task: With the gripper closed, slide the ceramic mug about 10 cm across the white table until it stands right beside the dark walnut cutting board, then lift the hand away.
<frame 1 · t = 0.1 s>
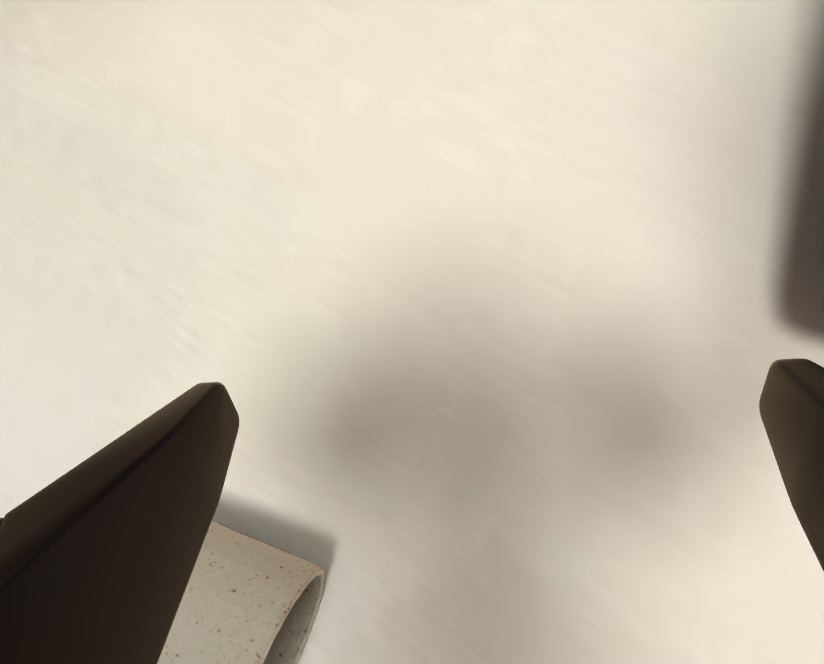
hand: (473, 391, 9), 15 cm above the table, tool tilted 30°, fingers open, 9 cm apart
ceramic mug: (247, 598, 27), on the table
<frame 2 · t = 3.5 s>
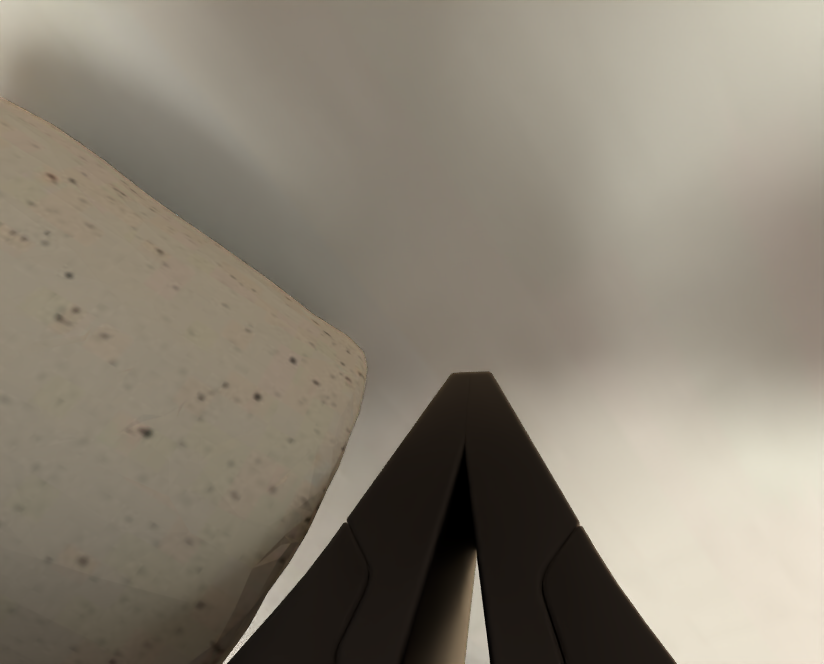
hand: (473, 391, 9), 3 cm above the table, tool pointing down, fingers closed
ceramic mug: (152, 320, 12), on the table, touching gripper
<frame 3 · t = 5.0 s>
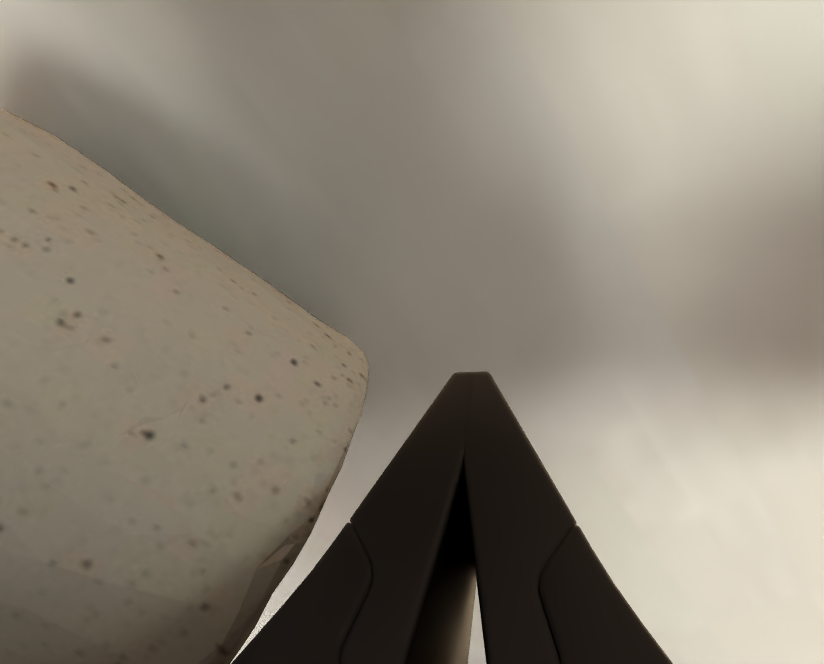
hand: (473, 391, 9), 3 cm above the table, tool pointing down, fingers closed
ceramic mug: (155, 328, 13), on the table, touching gripper
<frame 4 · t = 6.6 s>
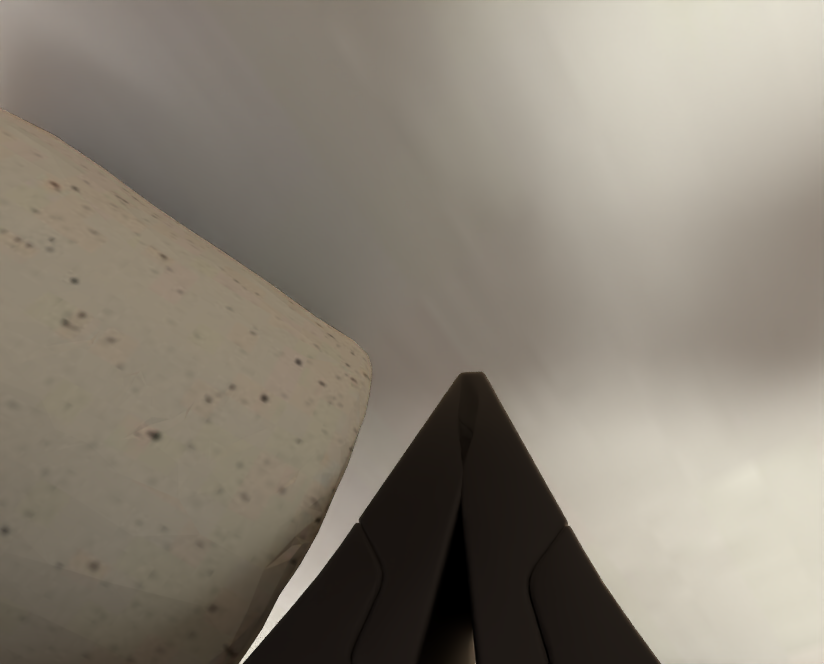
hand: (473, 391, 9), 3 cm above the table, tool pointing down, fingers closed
ceramic mug: (154, 330, 12), on the table, touching gripper, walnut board
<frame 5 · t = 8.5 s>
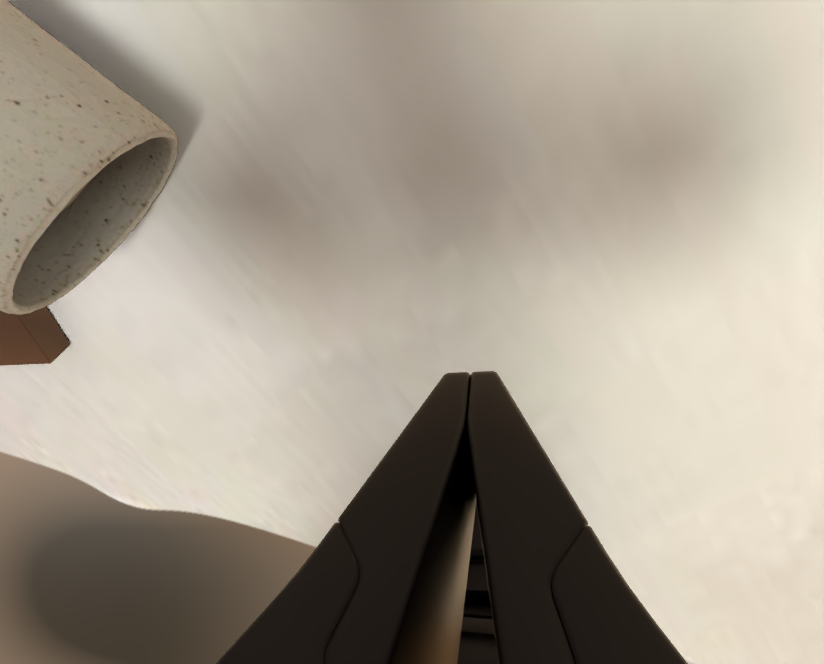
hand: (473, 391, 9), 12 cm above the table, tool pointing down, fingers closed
ceramic mug: (66, 141, 20), on the table, touching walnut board
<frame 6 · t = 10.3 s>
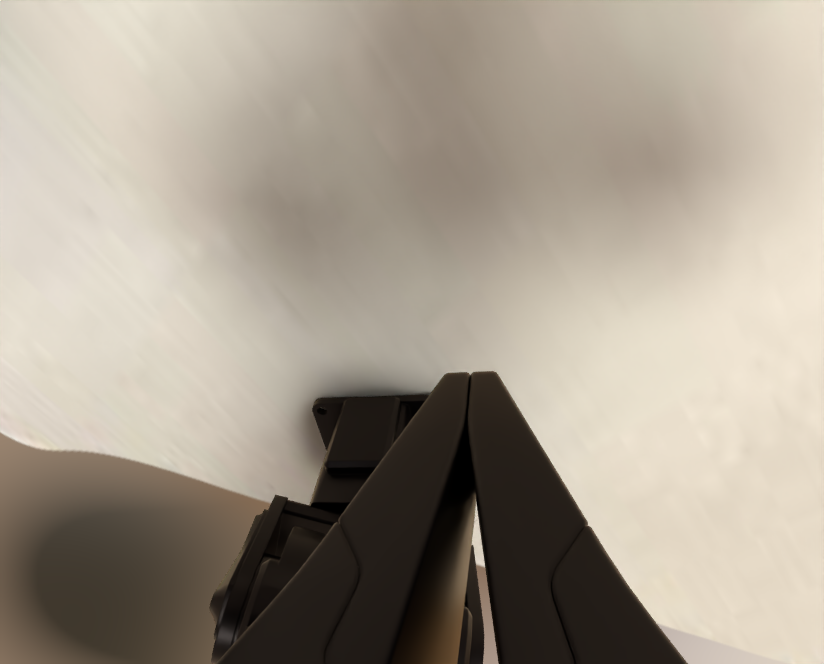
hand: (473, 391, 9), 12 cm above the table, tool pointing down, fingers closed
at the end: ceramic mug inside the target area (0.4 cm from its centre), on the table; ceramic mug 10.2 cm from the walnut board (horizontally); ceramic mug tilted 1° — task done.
